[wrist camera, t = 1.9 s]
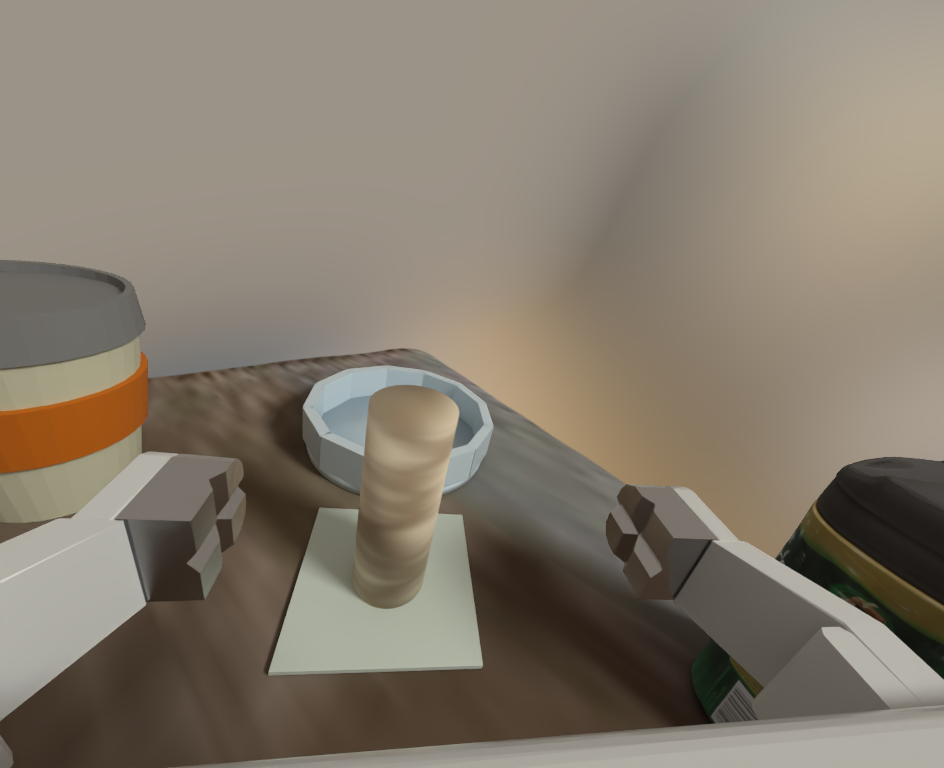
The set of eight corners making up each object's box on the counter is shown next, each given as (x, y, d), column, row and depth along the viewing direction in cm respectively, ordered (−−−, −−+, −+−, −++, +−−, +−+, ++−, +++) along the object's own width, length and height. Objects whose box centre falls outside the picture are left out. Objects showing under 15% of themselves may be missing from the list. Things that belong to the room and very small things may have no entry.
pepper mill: (346, 609, 24) (363, 426, 18) (357, 544, 29) (373, 380, 23) (424, 608, 25) (463, 435, 19) (423, 546, 30) (455, 390, 24)
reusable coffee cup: (177, 503, 29) (145, 316, 23) (-106, 580, 21) (-281, 323, 15) (162, 420, 37) (134, 265, 31) (-47, 452, 29) (-143, 251, 23)
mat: (268, 675, 20) (268, 672, 20) (319, 510, 31) (319, 507, 31) (482, 668, 23) (482, 665, 23) (461, 517, 33) (462, 515, 33)
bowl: (279, 494, 32) (278, 451, 30) (327, 389, 48) (328, 357, 47) (496, 507, 35) (507, 469, 34) (470, 406, 52) (477, 377, 50)
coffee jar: (747, 629, 29) (914, 429, 21) (874, 758, 23) (1178, 541, 15) (661, 670, 25) (829, 440, 17) (786, 842, 19) (1144, 603, 11)
